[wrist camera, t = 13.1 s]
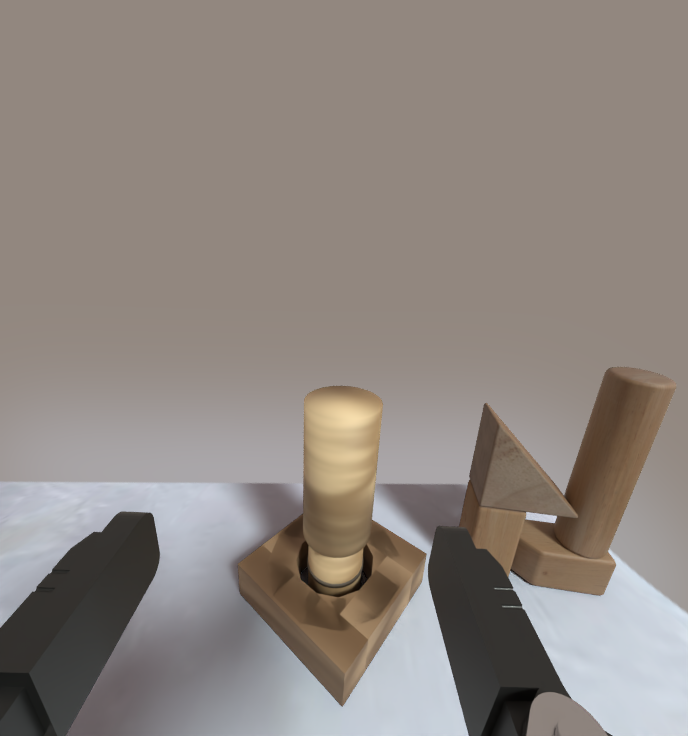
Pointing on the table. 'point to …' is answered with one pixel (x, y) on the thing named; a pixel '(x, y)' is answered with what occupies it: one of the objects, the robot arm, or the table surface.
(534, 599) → the table surface
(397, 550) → the square wooden ring
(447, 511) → the table surface
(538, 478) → the wooden block
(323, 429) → the oak leg
